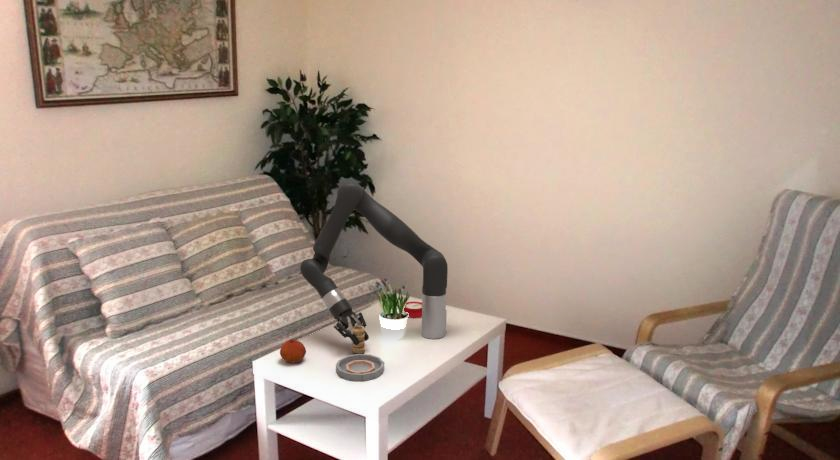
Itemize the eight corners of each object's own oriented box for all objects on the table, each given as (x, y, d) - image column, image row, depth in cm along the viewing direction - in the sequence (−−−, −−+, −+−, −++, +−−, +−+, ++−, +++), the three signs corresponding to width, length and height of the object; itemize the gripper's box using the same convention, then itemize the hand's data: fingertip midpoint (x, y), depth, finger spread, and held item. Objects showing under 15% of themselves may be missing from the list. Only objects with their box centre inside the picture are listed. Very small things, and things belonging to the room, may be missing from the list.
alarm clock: (396, 303, 280) (428, 292, 284) (399, 316, 282) (431, 305, 286) (403, 311, 271) (436, 300, 274) (406, 325, 273) (439, 314, 276)
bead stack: (358, 347, 243) (357, 324, 241) (367, 350, 240) (366, 327, 238) (350, 351, 239) (349, 328, 237) (359, 354, 237) (359, 331, 235)
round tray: (357, 356, 236) (357, 350, 236) (392, 368, 227) (392, 361, 227) (327, 372, 224) (327, 366, 223) (363, 385, 215) (363, 378, 214)
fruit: (291, 368, 226) (290, 347, 224) (275, 361, 232) (274, 340, 230) (311, 360, 233) (310, 339, 231) (296, 353, 238) (295, 333, 237)
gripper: (328, 303, 234) (355, 343, 230) (354, 293, 245) (380, 330, 241) (318, 314, 238) (344, 353, 234) (344, 303, 249) (369, 340, 245)
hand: (362, 341), depth 238 cm, fingers closed on bead stack, 4 cm apart
